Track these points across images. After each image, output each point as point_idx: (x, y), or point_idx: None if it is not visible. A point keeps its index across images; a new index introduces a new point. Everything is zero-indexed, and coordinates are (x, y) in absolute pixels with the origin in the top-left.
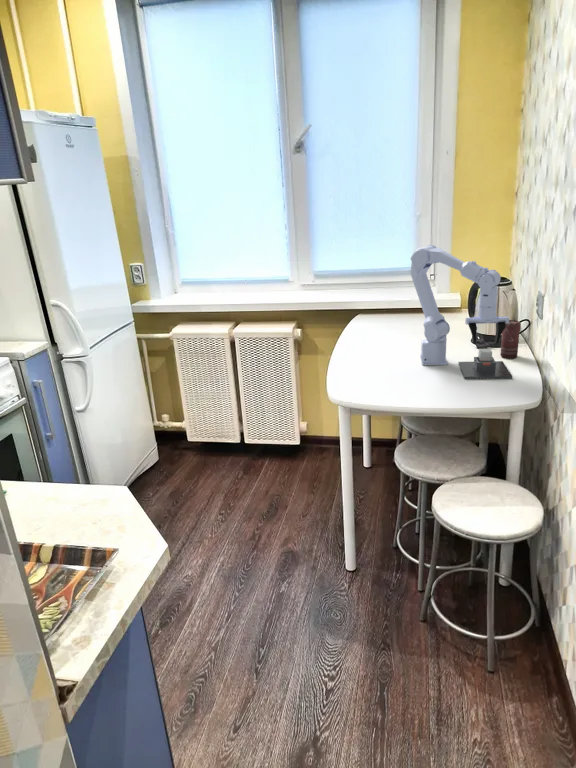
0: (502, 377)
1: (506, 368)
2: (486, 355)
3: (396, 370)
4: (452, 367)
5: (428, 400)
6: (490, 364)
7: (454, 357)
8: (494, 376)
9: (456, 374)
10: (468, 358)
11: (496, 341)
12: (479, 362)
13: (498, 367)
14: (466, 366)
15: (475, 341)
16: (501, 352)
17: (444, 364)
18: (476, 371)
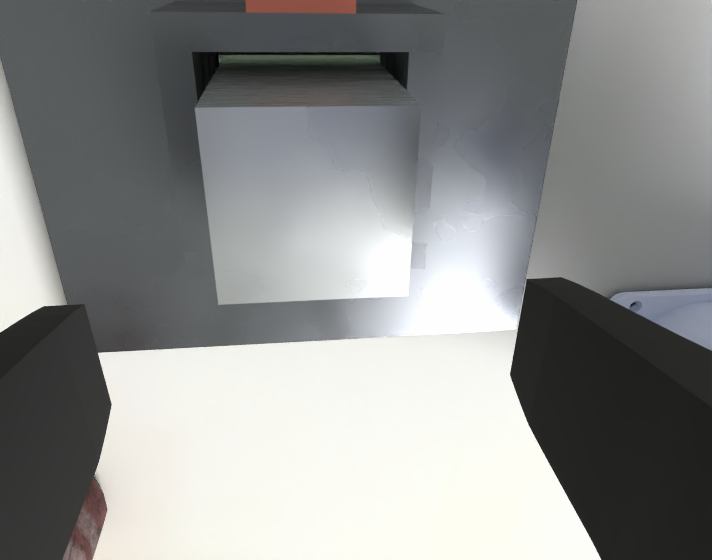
0: None
1: (29, 127)
2: (302, 94)
3: None
4: (586, 235)
5: None
6: (237, 10)
7: (490, 459)
8: None
9: (622, 16)
10: (385, 445)
11: (65, 321)
12: (406, 23)
13: (129, 165)
14: (479, 198)
15: (570, 292)
16: (89, 518)
17: (641, 292)
18: (414, 5)
